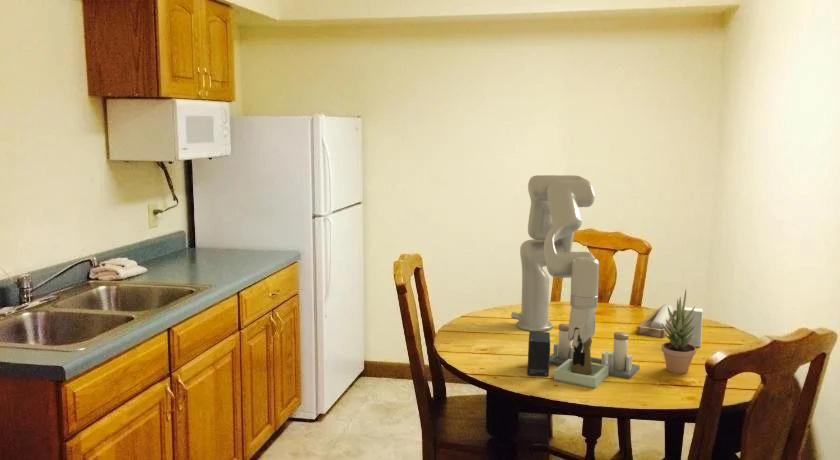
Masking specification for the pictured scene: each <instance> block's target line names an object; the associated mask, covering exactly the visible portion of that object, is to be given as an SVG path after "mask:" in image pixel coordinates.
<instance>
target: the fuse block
mask: <svg viewBox="0 0 840 460" xmlns="http://www.w3.org/2000/svg"><path fill="white" fill-rule="evenodd" d="M568 330H569V323H559V324H558V342H555V343H554V344H553V350H552V351H553V353H552V354H550V364H549V365H554V366H558V367H559V366H560V365H562V364H563V363H564V362H565V361H567V360H568V359H573V346H572V342H573V340H572V341H569V340H568ZM629 337H630V336H629V333H627V332H625V331H624V332H622V331H618V332H617V331H616V332H614V333H613V351H609V350H607V349H605V350H604V351H603V352H602V353H601V358H599V357H593V356H591V363H597V364H601V365H606V366H609V371H608V376H613V377H619V378H624V379H628V380H629V379H630V380H631V379H632V377H633V376H634V375H635V374H636V373H638V371H639V370H640V367H641V366H640V365H639V364H635V363H634V364H633V354H628V351H629V349H628V348H629Z"/></svg>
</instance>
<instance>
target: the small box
mask: <svg viewBox="0 0 840 460" xmlns="http://www.w3.org/2000/svg"><path fill="white" fill-rule="evenodd" d="M528 332H529V334H528V345H527V346H528V351H527V352H528V353H527V354H528V355H527V367H526V372H527V373H526V375H527V376H539V377H549V373H550V365H551V364H550V356H551V335H550V334H551V333H550V331H549V332H546V331H528Z"/></svg>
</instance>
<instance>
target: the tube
mask: <svg viewBox="0 0 840 460" xmlns="http://www.w3.org/2000/svg"><path fill="white" fill-rule="evenodd" d="M668 307H669V309H670V311H671V313H672V315H674V310H675V308H674V306H672V305H671V304H666V303H664V304H662V305H661V307H659V308H660V310H659V312H658V314H657V315H656V317H655V318H654V320H653V321H652V323H651V325H650V328H655V329H663V328H664V327H663V326H662V324H663V325H664V326H666V325H667V322H666V320H667V321H668V322H670V321H671V318H670V316H669V312H668Z"/></svg>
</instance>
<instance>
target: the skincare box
mask: <svg viewBox="0 0 840 460" xmlns="http://www.w3.org/2000/svg"><path fill="white" fill-rule="evenodd" d="M693 308H694V307H687V306H685V309H684V311H685V310H686V313H685V318H686V317H687V316H688V314H689V313H690V312H691V310H692V309H693ZM703 313H704V309H703V308H696V307H695V308H694V311H693V313H692V314H691V316H690V318H689V320H688V321H687V323H688V322H689V321H690V320H691V319H692V318H693V317H694V319H693V320H692V322H691V324H690V325H689V327H690V326H691V325H692V326H691V328H692V327H693V326H695V327H694V329H693V330H692V331H691V332H690V333H689V334H688V335H687V337H686V338H688V337H689V336H690V335H692V334H693V335H692V336H691V337H690V338H691V340H690V341H689V343H688V344H691V345H693V346H694V347H697V348H700V347H701V346H702V335H703V334H702V333H703V332H702V331H703ZM687 323H686V324H687ZM686 324H685V325H686ZM689 327H688V328H689ZM688 328H687V329H688ZM691 328H690V329H691ZM690 329H689V330H690ZM688 332H689V331H688ZM686 338H685V339H686ZM690 338H689V339H690ZM689 339H688V340H689Z"/></svg>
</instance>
